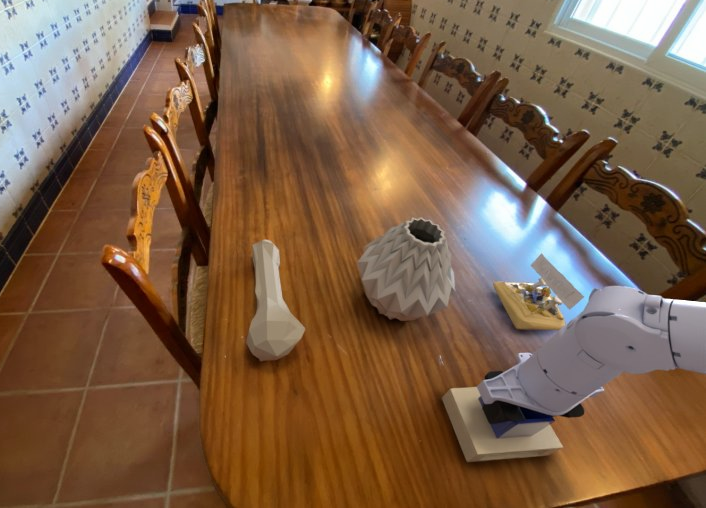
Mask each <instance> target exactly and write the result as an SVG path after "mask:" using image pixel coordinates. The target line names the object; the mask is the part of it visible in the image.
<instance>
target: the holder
mask: <svg viewBox="0 0 706 508" xmlns="http://www.w3.org/2000/svg"><path fill="white" fill-rule="evenodd" d="M478 399H479V401H480V403H481V406H482V407H483V404H484V401H483V399H482V397H481V396H480V397H479V398H478ZM519 408H520V410H521V412H522V414H523V416H524V417H525V419H526V421H503V422H501V423H497V424H490V425H491V427H492V429H493V431H494V434H495V436H496V438H497V439H500V438H514V437H527V436H533V435H534V434H536V433H537V432H539V431H541V430H542V429H544V428H545V427H547V426H548V425H552V424H553V423H555V422H556V420H555V418H554V417H553V416H552V415H548V414H544V413H541V412H538V411H534V410H531V409H528V408H524V407H521V406H519Z"/></svg>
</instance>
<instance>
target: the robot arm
mask: <svg viewBox="0 0 706 508" xmlns="http://www.w3.org/2000/svg"><path fill="white" fill-rule="evenodd" d="M515 359H516V361H517V364H515V365H513V366H512V367H510V368H509V369H507V370H505V371H503V370H490V371H488V372H487V373H486V374H485V375H484V377H483V378H484V379H483V380H482V381H481V382H480V383H479V384H478V385H477V386H476V387H477V389H478V391H479V393H480V395H481V397H482V399H483V401H484V404H483V407H482V409H483V411H484V414H485V416H486V418H487V420H488V422H489V423H490V424H497V423H501V422H503V421H526V419H525V417H524V416H523V414H522V412H521V410H520V408H519V406H521V407H524V408H528V409H531V410H534V411H538V412H541V413H544V414H548V415H552V416H553V418H554V417H561V418H562V417H563V418H567V419H570V418H580V417H582V416H584V415H585V408H584V406H583V404H582V403H583V402H584V401H585V400H587V399H588V398H596V397H597V396H599V395H600V394H602V393H604V392H605V389H604V386H606V385H607V384H608V383H610V382H611V381H613V380H614V379H616V378H618V377H620V376H621V374H622V373H623V372H624V373H627V374H630V375H642V374H649V373H651V372H653V371H657V370H659V371H666V372H670V370H672V371H674V370H676V369H679V370H680V369H681V370H684V371H689V372H694V373H698V374H699V373H700V374H704V375H706V302H704V301H692V300H685V299H684V300H683V299H673V298H672V299H671V298H664V297H663V296H662V295H656V294H655V295H654V294H648V293H647V292H645V291H642V290H641V289H638V288H634V287H631V286H626V285H625V286H624V285H608V286H604V287H603V289H602V288H598V287H595V288H593V289H592V290H591V291H590V294H589V297H588V301H587V302H586V305H585V307H584V309H583V310H582V311H581V312H580V313H578V314H577V316H576V317H574V318H572V319H570V321H568V323H566V325H564V326H563V327H562V328H561V329H560V330H558V331H555V333H554V334H552V336H550V338H548V339H547V341H545V342H544V343H543V344H542V345H541V346H540V347H539V348H538V349H537V350H536V351H534V352H533V353H531V352H519V353H517V354H516V355H515Z"/></svg>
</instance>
